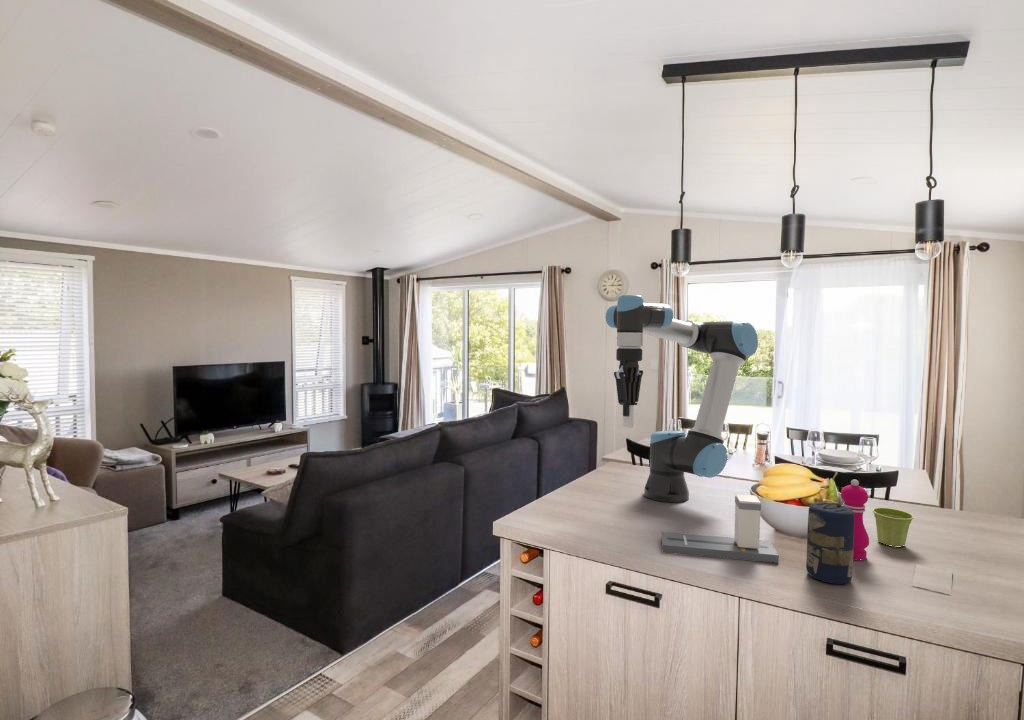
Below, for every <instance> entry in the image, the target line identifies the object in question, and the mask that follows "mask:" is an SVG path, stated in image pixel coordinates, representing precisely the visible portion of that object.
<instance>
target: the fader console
mask: <svg viewBox="0 0 1024 720" xmlns="http://www.w3.org/2000/svg"><path fill="white" fill-rule="evenodd" d="M660 533H661V534H660V536H661V537H660V538H661V541H662V542H661V547H662V548H661V549H662V550H663V551H662V553H663V552H665V554H673V553H677V554H676V555H685V554H686V555H687V556H696V557H706V558H707V557H708V558H718V559H730V560H739V559H740V561H750V560H751V562H761V561H762V562H763V563H772V562H774V564H775V563H776V564H779V559H780V557H779V554H778V552H777V550H776V549H775V547H774V545H773V544H772V542H771V541H770V540H765V539H764V540H763V539H759V549H756V548H745V547H738V545H737V543H736V541H735V539H734V537H728V536H716V535H704V534H694V533H693V534H691V533H680V532H667V531H666V532H665V531H660ZM686 555H685V556H686Z"/></svg>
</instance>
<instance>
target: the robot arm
mask: <svg viewBox="0 0 1024 720" xmlns="http://www.w3.org/2000/svg"><path fill="white" fill-rule="evenodd" d="M616 303H617V304H615V305H611V306H610V307H608V309H606V312H605V316H604V317H605V322H606V324H607V325H608V327H610V328H612V329H616V347H618V348H616V349H615V350H616V352H615V353H616V357H615V358H616V359H615V360H616V361H619V365H618V371H614V372H613V376H614V378H615V384H616V386H615V387H616V393H617V402H618V404H619V405H620V406H622V428H628V429H632V428H634V414H635V413H634V411H635V409H634V408H635V407H634V406H638V402H639V399H640V398H639V397H640V391H641V385H642V378H643V375H644V370H641V369H639V368H640V365H639V362H641V361H643V349H642V348H641V347H643V345H644V344H643V339H644V337H643V334H645V335H649V336H651V337H656V338H659V339H663V340H666V341H670V342H675V343H677V344H678V345H679V346H680V347H682V348H686V349H690V350H693V351H695V352H700V353H703V354H706V355H709V357H710V359H711V360H712V362H711V366H710V369H709V374H708V376H707V379H706V384H705V388H704V392H703V394H702V399H701V401H700V405H699V409H698V412H697V415H696V416H697V417H696V419H695V423H694V426H693V427H691V428H690V429H688V430H687V433H686V432H685V431H684V430H662V431H661V430H659V431H655V432H654V431H653V433H652V434H651V435H650V441H649V442H650V443H649V474H648V478H647V480H646V483H645V486H644V490H643V491H644V493H643V495H644V497H645V498H647V499H650V500H654V501H657V502H663V503H664V502H665V503H681V502H686V501H688V500H689V499H690V491H689V488H688V484H687V482H686V477H685V473H688V474H691V475H695V476H697V477H700V478H702V477H703V478H709V479H711V478H715V477H717V476H718V475H720V474H721V473H722V472H723V471H724V469H725V467H726V465H727V462H728V457H729V455H728V450H727V448H726V446H725V445H724V442H725V439H723V436H722V431H723V427H724V424H725V420H726V417H727V416H726V415H727V412H728V409H729V405H730V401H731V398H732V393H733V389H734V387H735V384H736V383H735V382H736V380H737V375H738V371H739V369H740V367H741V366H743V365H745V364H746V361H747V357H751V356H753V355H754V354H755V353H756V352H757V350H758V345H759V337H758V334H757V331H756V329H755V327H754V326H753V324H752V323H750V322H749V321H743V320H742V321H740V320H733V321H732V320H731V321H730V320H729V321H728V320H725V321H723V320H722V321H719V320H718V321H715V320H714V321H692V320H684V321H683V320H680V319H676V318H674V311H673V309H672V307H671V306H670V305H669V304H666V303H661V302H657V303H655V302H645V301H644V297H643V295H640V294H622V295H620V296H618V298H617V302H616Z"/></svg>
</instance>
